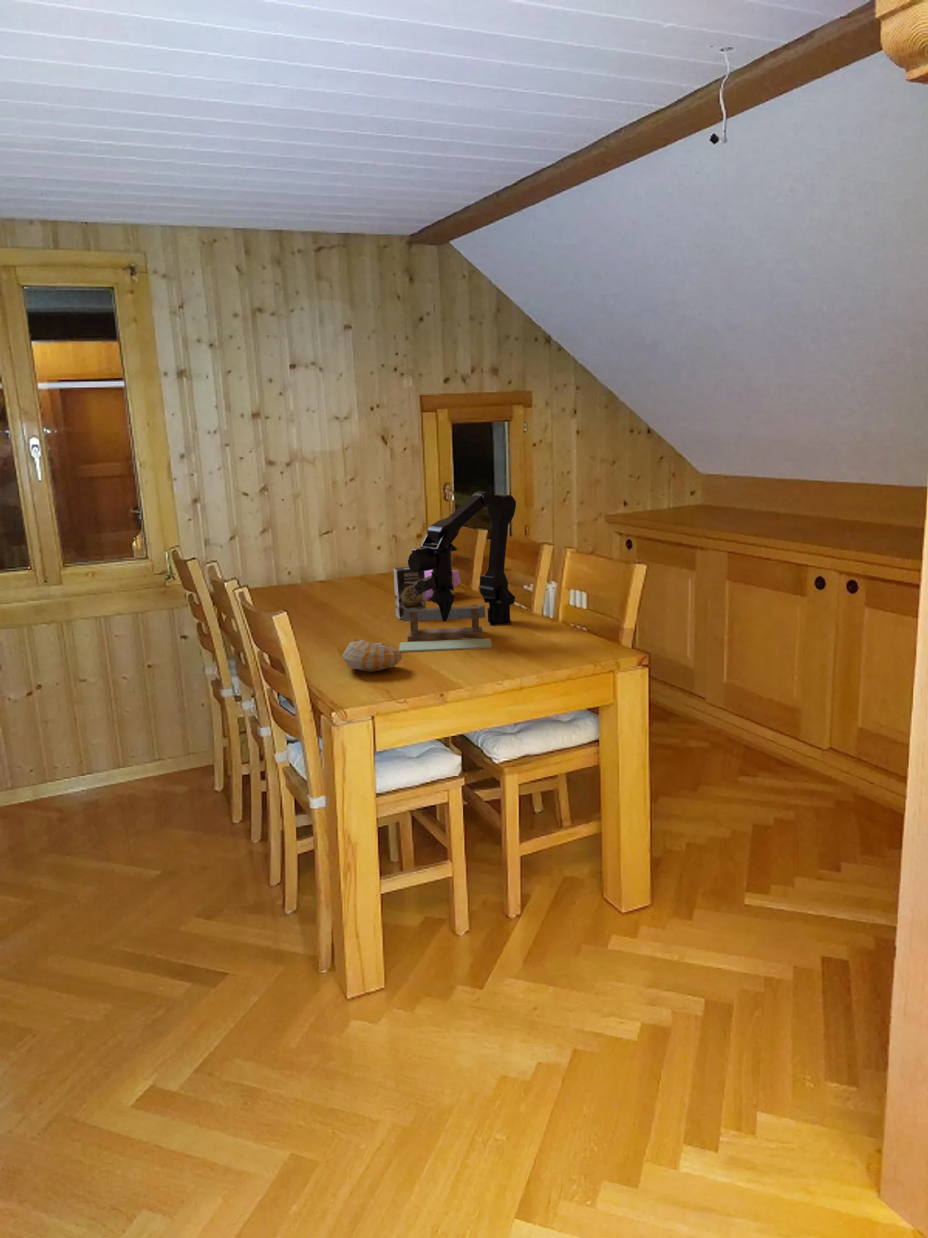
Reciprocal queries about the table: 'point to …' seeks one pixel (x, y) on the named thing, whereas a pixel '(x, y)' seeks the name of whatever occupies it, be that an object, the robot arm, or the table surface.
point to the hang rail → (435, 613)
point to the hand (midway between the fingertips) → (444, 619)
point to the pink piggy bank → (428, 573)
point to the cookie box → (407, 590)
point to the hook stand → (444, 630)
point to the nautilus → (370, 656)
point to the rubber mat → (445, 645)
